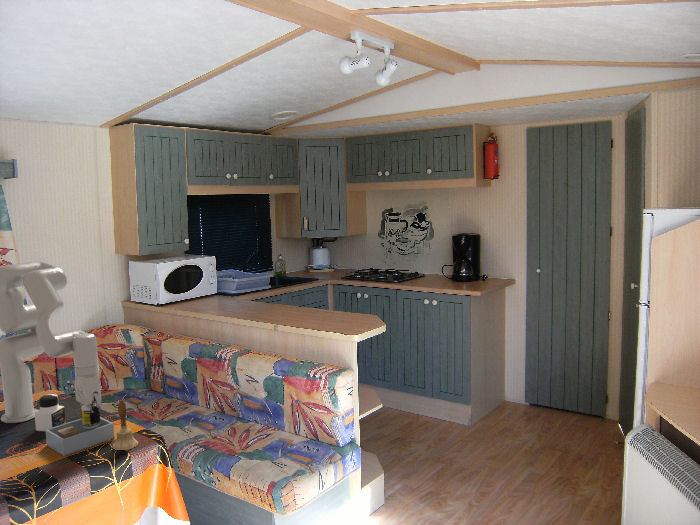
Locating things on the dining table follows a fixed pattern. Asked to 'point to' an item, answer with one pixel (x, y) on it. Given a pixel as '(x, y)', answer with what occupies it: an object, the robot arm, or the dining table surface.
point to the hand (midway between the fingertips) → (91, 420)
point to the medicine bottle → (49, 413)
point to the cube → (67, 432)
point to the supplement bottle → (87, 417)
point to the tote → (79, 436)
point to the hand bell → (124, 432)
